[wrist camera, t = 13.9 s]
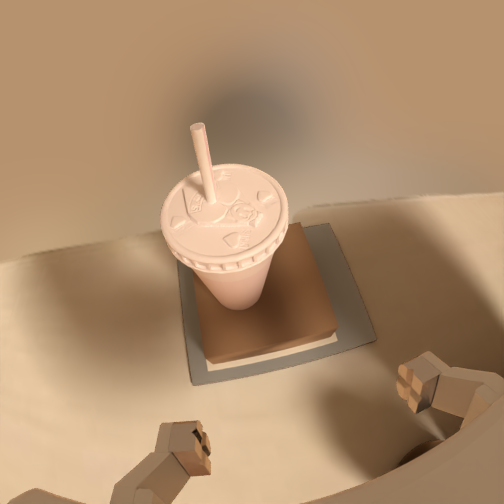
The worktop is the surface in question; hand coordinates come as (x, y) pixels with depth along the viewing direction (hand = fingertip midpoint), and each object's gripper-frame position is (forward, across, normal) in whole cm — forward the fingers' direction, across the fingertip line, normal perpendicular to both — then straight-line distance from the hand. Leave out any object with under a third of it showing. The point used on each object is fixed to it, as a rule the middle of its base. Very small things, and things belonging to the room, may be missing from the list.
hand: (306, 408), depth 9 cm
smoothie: (+13, +2, -1) cm, 13 cm away
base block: (+15, 0, +1) cm, 15 cm away
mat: (+15, -1, +1) cm, 15 cm away
